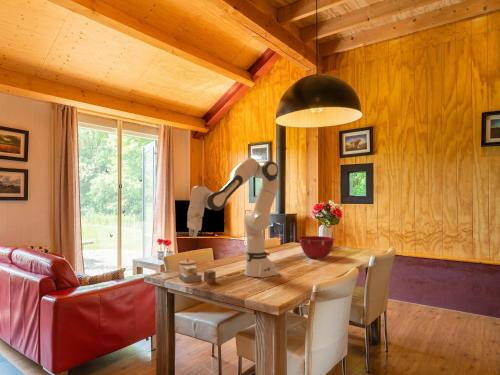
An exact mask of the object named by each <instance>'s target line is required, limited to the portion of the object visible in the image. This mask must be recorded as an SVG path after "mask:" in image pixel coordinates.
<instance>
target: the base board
mask: <svg viewBox="0 0 500 375" xmlns="http://www.w3.org/2000/svg"><path fill="white" fill-rule="evenodd" d="M178 278H179V279H180V280H181V281H182V282H183V283H191V282H198V280H199V281H202V279H203V278H202V274H201V273H199V272H197V275H190V276H187V275H185V274H184V273H181V272H180V273H179V277H178Z"/></svg>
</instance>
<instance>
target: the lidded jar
mask: <svg viewBox="0 0 500 375" xmlns="http://www.w3.org/2000/svg"><path fill="white" fill-rule="evenodd" d="M187 266H195V267H197V260H194V259H189V258H186V259H184V260H180V261H179V262H178V268H179V272H180V273H184V267H187Z"/></svg>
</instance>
